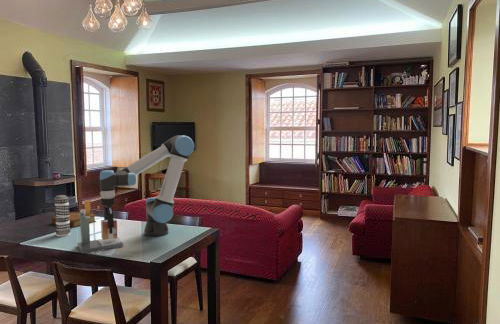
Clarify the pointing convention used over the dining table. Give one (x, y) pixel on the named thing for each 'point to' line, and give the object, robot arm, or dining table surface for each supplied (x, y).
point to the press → (95, 244)
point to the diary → (75, 219)
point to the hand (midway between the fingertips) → (109, 237)
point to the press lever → (86, 209)
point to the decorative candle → (62, 215)
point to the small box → (105, 230)
